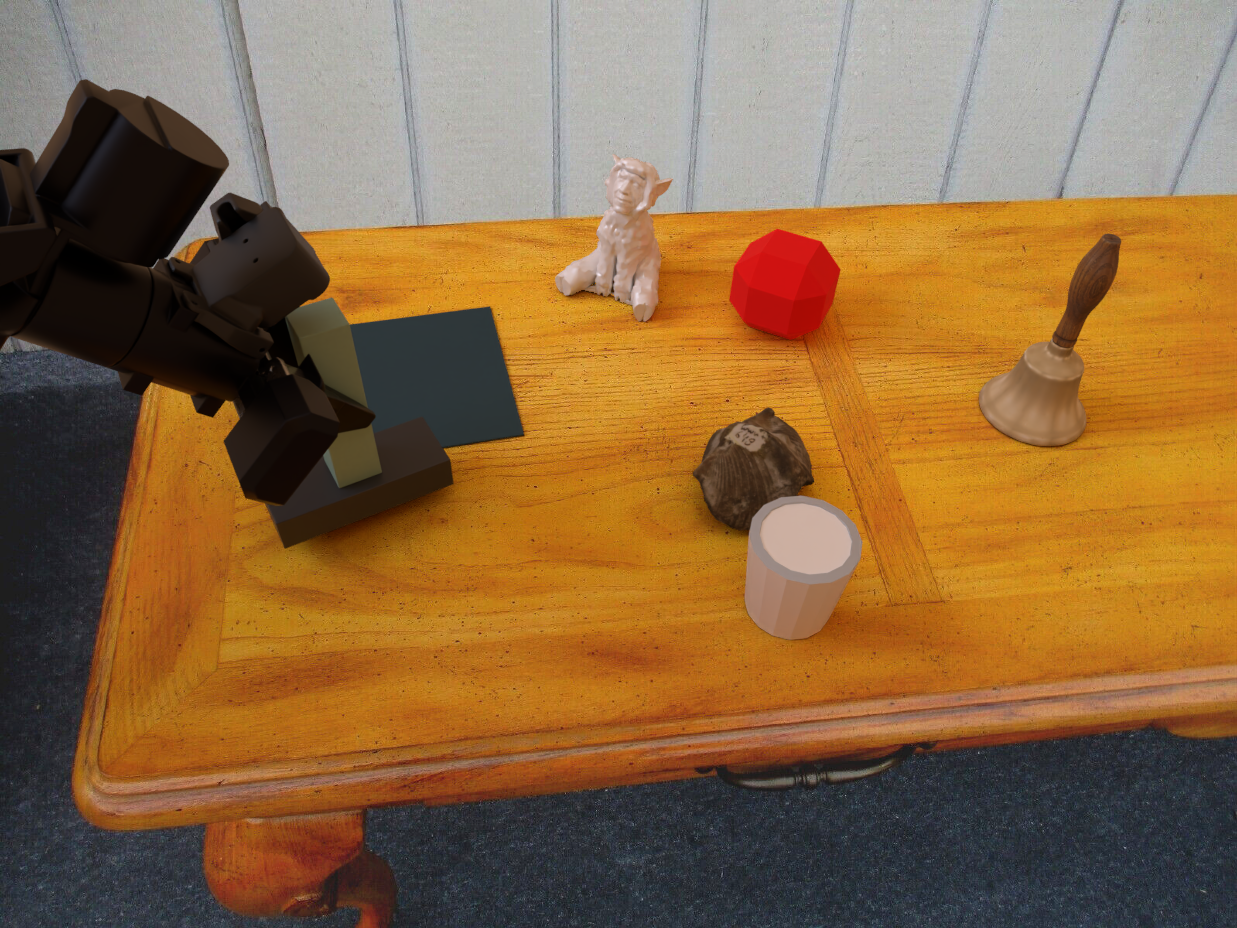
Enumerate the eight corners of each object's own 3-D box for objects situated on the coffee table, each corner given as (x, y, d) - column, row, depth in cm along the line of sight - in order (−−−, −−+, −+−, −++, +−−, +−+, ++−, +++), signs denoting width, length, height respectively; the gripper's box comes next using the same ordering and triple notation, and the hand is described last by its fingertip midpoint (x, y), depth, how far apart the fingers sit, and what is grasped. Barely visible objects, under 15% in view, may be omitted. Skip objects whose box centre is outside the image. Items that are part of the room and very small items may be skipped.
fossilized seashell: (769, 401, 72) (660, 465, 70) (802, 376, 66) (683, 446, 63) (821, 486, 72) (714, 553, 69) (859, 469, 65) (742, 543, 63)
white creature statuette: (551, 294, 84) (548, 171, 76) (595, 245, 90) (597, 125, 81) (648, 326, 82) (657, 203, 73) (687, 273, 87) (700, 153, 78)
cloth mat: (249, 478, 69) (249, 477, 68) (250, 338, 79) (250, 337, 79) (524, 435, 72) (524, 434, 72) (490, 307, 83) (490, 306, 83)
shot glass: (719, 622, 62) (732, 556, 56) (756, 547, 66) (771, 479, 61) (821, 664, 60) (844, 600, 54) (852, 584, 64) (876, 518, 59)
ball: (834, 309, 84) (853, 235, 79) (806, 362, 79) (823, 287, 74) (750, 283, 87) (762, 209, 81) (717, 332, 82) (727, 258, 76)
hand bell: (956, 394, 77) (1024, 224, 65) (1029, 364, 80) (1107, 196, 68) (1032, 461, 72) (1120, 290, 61) (1107, 425, 75) (1205, 256, 64)
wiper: (284, 549, 62) (222, 373, 52) (263, 500, 65) (200, 324, 55) (454, 484, 67) (429, 310, 56) (426, 441, 70) (397, 267, 59)
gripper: (255, 295, 42) (499, 401, 54) (166, 110, 53) (385, 233, 65) (126, 476, 45) (384, 538, 57) (67, 266, 56) (294, 355, 68)
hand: (362, 404), depth 61 cm, fingers closed on wiper, 3 cm apart
